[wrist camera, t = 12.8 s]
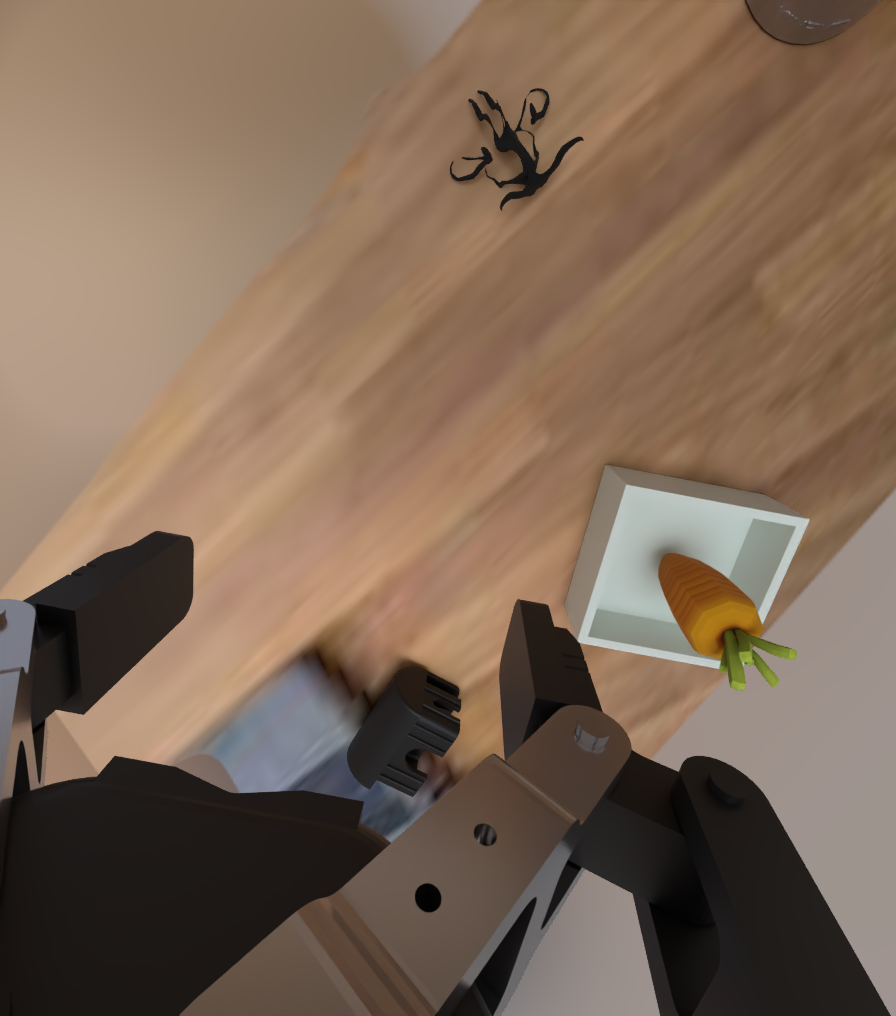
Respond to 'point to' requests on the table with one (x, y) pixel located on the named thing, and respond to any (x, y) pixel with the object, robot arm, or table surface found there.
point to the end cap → (405, 730)
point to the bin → (671, 529)
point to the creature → (512, 143)
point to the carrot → (717, 617)
